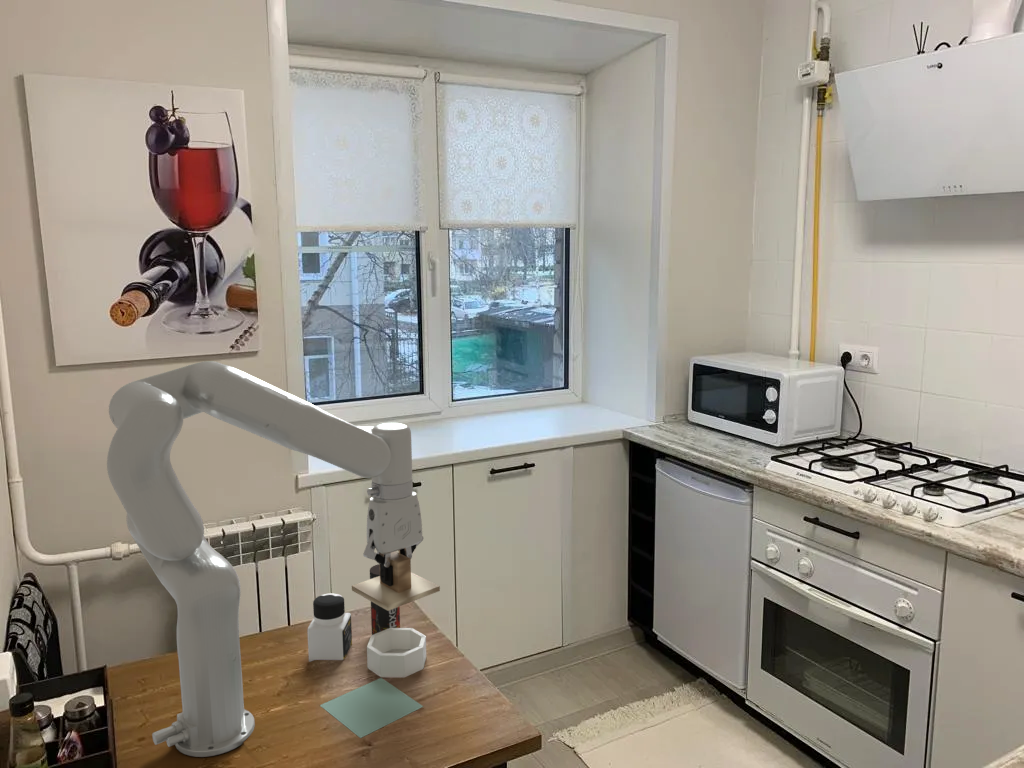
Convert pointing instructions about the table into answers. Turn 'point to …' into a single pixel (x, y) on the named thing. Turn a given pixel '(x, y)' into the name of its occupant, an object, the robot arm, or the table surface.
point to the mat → (371, 707)
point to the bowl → (396, 652)
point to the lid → (396, 585)
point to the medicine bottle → (329, 629)
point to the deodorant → (382, 611)
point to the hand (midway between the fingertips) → (395, 580)
